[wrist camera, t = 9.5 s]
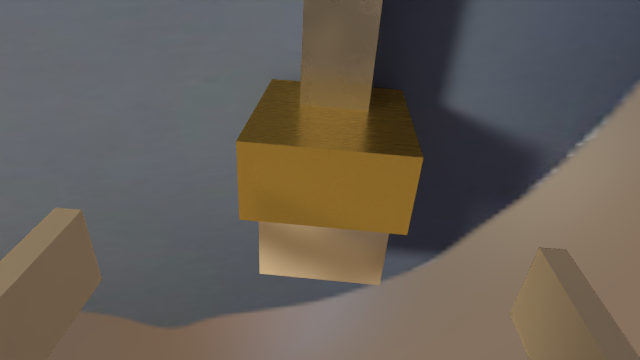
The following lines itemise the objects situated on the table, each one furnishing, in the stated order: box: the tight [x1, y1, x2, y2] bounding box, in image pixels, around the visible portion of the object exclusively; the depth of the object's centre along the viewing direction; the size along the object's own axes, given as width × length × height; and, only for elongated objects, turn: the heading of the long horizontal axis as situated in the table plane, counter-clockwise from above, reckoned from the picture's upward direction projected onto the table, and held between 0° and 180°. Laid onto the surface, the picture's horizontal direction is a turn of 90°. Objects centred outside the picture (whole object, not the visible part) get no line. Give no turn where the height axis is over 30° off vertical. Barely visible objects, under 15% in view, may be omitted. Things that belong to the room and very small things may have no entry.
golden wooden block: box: [236, 0, 423, 235], centre depth 18 cm, size 20×7×8 cm, turn 176°
